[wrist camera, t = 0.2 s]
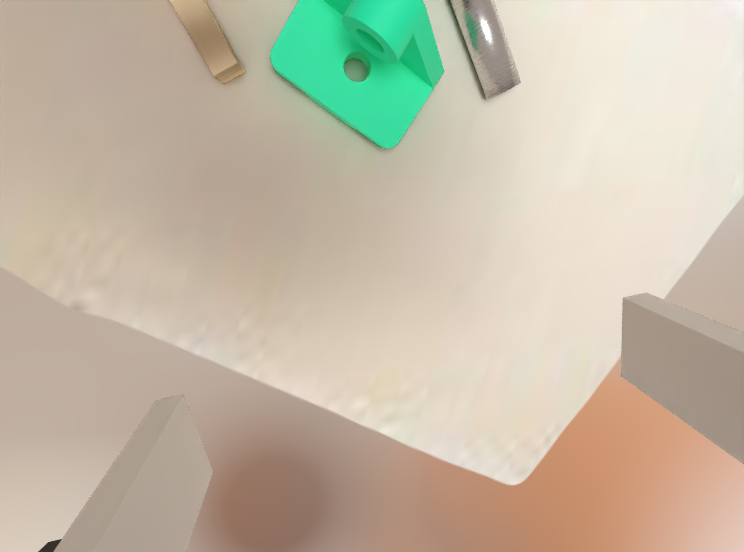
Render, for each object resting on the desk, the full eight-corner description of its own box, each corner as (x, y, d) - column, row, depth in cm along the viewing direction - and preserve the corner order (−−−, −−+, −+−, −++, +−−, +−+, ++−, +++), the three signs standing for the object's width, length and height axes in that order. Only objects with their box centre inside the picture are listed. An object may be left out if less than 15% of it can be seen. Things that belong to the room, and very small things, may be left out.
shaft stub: (437, -17, 33) (447, -33, 30) (470, -36, 32) (483, -53, 29) (481, 100, 36) (494, 97, 33) (512, 84, 36) (527, 79, 33)
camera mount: (268, 68, 33) (248, 31, 23) (317, -19, 31) (318, -97, 22) (386, 153, 36) (412, 152, 26) (435, 77, 35) (481, 46, 25)
